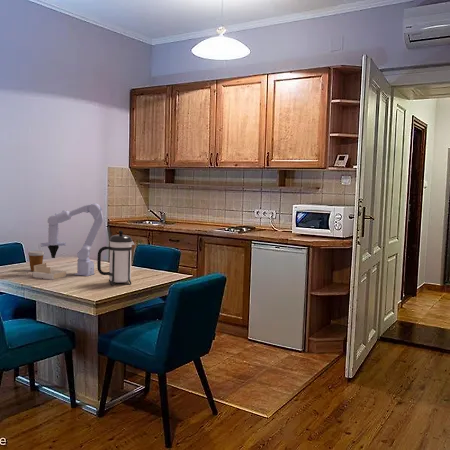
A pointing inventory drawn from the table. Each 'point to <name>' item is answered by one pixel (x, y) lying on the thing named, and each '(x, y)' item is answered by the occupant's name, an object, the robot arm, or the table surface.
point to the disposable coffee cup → (35, 258)
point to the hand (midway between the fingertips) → (53, 257)
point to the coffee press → (118, 259)
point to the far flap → (39, 265)
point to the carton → (50, 274)
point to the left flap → (43, 269)
